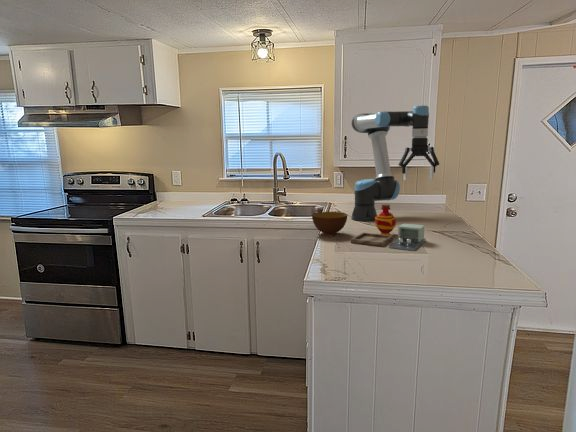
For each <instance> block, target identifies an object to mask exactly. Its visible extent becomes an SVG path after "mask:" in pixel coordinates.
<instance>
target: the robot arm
mask: <svg viewBox="0 0 576 432" xmlns="http://www.w3.org/2000/svg"><path fill="white" fill-rule="evenodd" d="M429 109H430V108H429V106H428V105H414V106H413V108H412V110H411V111H385V110H383V111H378V112H377V113H376V112H375V113H371V112H369V113H359V114H357V115H354V116H353V117H352V119H351V128H352V129H353V130H354V131H355V132H357V133H360V134H367V137H368V139H371V147H372V153H373V161H374V162H373V163H374V167H375V168H374V169H375V174H376V177H375V178H368V179H361V180H358V181H356V182H355V184H354V206H353V210H352V214H351V220H353V221H357V222H371V221H372V222H373V221H374V222H375V220H376V219H375V217H376V216H377V215H378V212H377V209H376V206H375V205H376V204H375V202H377V201H378V202H379V201H380V202H381V201H394V200H396V199H397V197H398V196H399V194H400V191H401V190H400V189H401V188H400V187H401V186H400V183H399V181H398V180H396V179H395V176H394V175H393V174H392V171H391V165H390V157H389V152H388V145H387V140H386V139H387V137H386V136H387V135H388V132H389V131H390V129H391V127H407V128H408V127H411V128H412V130H411V131H412V132H411V136H412V138H411V147H408V146H407V147H405V148H404V153H403V155H402V157H401V159H400V161H399V162H398V166H399V167H401V173H402V174H403V180H404V181H407V180H408V167H407V166H408V165H409V163H410V162H411V161H412V160H413V159H414V158H415V157H424V158H425V159H426V160H427V162H428V163H429V164H430V166H429V167H430V168H429V180H430V181H431V180H434V174H436V167H437V166H439V165H440V161H439V159H438V158H437V155H436V153H435V147H434V146H429V147H428V142H429V141H428V136H429V121H430V119H429V118H430V112H429V111H430V110H429ZM410 152H411V153H410ZM427 152H429V153H430V156H431V157H432V158H431V157H430V156H429V154H428V153H427ZM409 153H410V155H409ZM408 155H409V157H408ZM407 157H408V158H407Z"/></svg>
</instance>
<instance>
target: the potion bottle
mask: <svg viewBox="0 0 576 432" xmlns="http://www.w3.org/2000/svg"><path fill="white" fill-rule="evenodd" d="M390 206H391V204H389V203H387V204H381V207H380V209H381V210H382V212H381V213H379V214H378V213H377V216H376V217H375V219H376V220H374V225H375V227H376V229H377V230H378V231H379V232H380V233H379V234H382V235H391V233H392V232H393V230H394V229H395V228H396V225H397V220H396V217H395V216H394V214H393V213H392V212H389V210H391V207H390Z"/></svg>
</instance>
